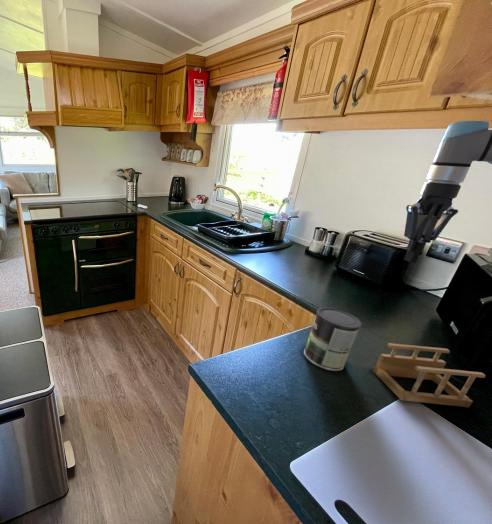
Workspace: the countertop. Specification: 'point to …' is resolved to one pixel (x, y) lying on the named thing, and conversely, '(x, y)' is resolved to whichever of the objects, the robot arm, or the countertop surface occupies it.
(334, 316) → the coffee can
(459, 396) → the rack
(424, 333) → the countertop surface
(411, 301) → the countertop surface
